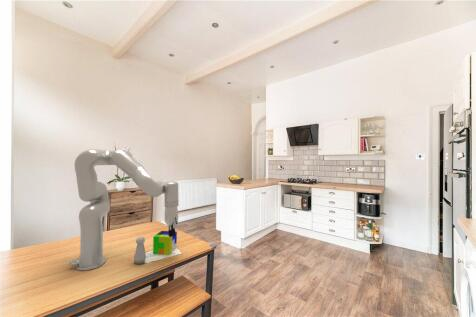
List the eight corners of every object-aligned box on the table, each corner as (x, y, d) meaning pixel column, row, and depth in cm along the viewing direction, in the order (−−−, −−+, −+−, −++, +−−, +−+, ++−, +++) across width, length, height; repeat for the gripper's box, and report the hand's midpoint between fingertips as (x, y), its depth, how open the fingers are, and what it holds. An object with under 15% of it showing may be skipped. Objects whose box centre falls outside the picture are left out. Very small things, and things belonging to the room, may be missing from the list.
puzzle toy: (176, 247, 125) (176, 231, 126) (169, 254, 115) (169, 237, 116) (161, 246, 126) (161, 230, 127) (153, 253, 116) (153, 236, 117)
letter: (145, 263, 106) (145, 263, 106) (140, 254, 117) (140, 253, 117) (181, 253, 118) (181, 253, 118) (174, 245, 128) (174, 245, 128)
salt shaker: (132, 265, 104) (133, 240, 104) (135, 260, 109) (135, 236, 109) (144, 264, 105) (145, 239, 105) (146, 259, 111) (147, 235, 111)
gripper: (161, 202, 117) (161, 233, 117) (168, 207, 105) (169, 242, 105) (173, 200, 121) (174, 230, 121) (182, 205, 109) (183, 238, 109)
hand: (171, 235), depth 113 cm, fingers closed
